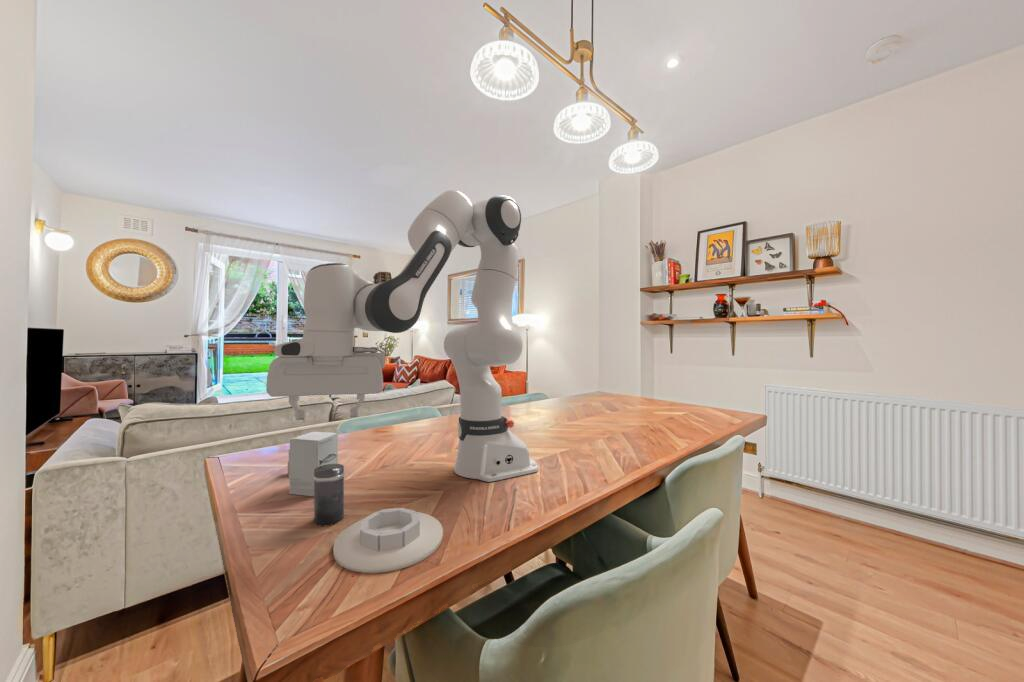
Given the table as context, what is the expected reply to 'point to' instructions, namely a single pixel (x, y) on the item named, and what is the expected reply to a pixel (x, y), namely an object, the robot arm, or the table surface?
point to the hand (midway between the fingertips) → (328, 418)
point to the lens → (328, 494)
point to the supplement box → (310, 459)
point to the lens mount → (388, 541)
